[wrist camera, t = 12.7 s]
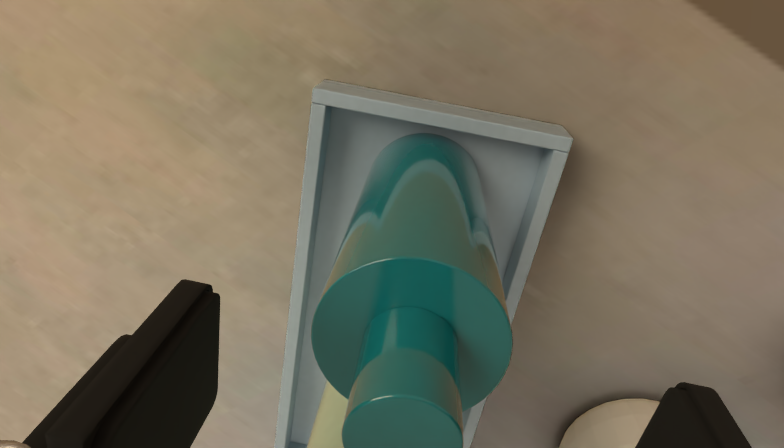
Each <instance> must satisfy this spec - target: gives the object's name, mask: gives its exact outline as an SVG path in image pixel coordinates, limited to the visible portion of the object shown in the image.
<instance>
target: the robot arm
mask: <svg viewBox="0 0 784 448" xmlns="http://www.w3.org/2000/svg"><path fill="white" fill-rule="evenodd" d="M219 321H220V296H219V294H218V293H213V289H212V286H211V285H209V284H205V283H200V282H195V281H190V280H185V279H184V280H181V281H180V282H179V283H178V284H177V285H176V286H175V287H174V288H173V290H172V291H171V292H170V293H169V294H168V295H167V296H166V297H165V299H164V300H163V301H162V302H161V303H160V304H159V305H158V307H157V308H156V309H155V310H154V311H153V312H152V313H151V314H150V316H149V317H148V318H147V319H146V320H145V321H144V322H143V323H142V325H141V326H140V327H139V328H138V329H137V330H136V331H135V333H134V334H133V335H127V334H126V335H123V336H121V337H120V338H118V339H117V340H116V341H115V342H114V343H113V344H112V345H111V346H110V347H109V349H108V350H107V351H106V352H105V353H104V354H103V355H102V356H101V357H100V358H99V359H98V361H97V362H96V363H95V364H94V365H93V366H92V367H91V368H90V369H89V370H88V371H87V373H86V374H85V375H84V376H83V377H82V378H81V379H80V380H79V381H78V382H77V383H76V385H75V386H74V387H73V388H72V389H71V390H70V391H69V392H68V393H67V394H66V395H65V397H64V398H63V399H62V400H61V401H60V402H59V403H58V404H57V405H56V406H55V407H54V409H53V410H52V411H51V412H50V413H49V414H48V415H47V416H46V417H45V418H44V419H43V421H42V422H41V423H40V424H39V425H38V426H37V427H36V428H35V429H34V430H33V431H32V433H31V434H30V435H29V436H28V437H27V438H26V439H25V440H24V441H23V442H22V443H20V442H17V441H8V440H0V448H190V447H191V445H192V443H193V441H194V439H195V438H196V436H197V434H198V432H199V430H200V428H201V427H202V425H203V423H204V421H205V419H206V418H207V416H208V414H209V412H210V410H211V409H212V407H213V404H214V402H215V399H216V395H217V389H218V356H219ZM635 448H752V447H751V446H750V444H749V443H748V441H747V439H746V438H745V436H744V435H743V433H742V432H741V430H740V428H739V427H738V425H737V424H736V422H735V420H734V419H733V417H732V416H731V414H730V413H729V411H728V409H727V408H726V406H725V405H724V403H723V401H722V400H721V398H720V397H719V395H718V394H717V392H716V391H715V390H714V389H712V388H709V387H704V386H699V385H694V384H689V383H685V382H682V383H679V384H677V385H676V387H675V388H669V389H668V390H667V391H666V392H665V394H664V396H663V398H662V400H661V402H660V403H659V405H658V407H657V409H656V411H655V412H654V414H653V416H652V418H651V420H650V421H649V423H648V425H647V427H646V429H645V430H644V432H643V434H642V436H641V438H640V440H639V441H638V443H637V445H636V447H635Z"/></svg>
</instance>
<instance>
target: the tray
mask: <svg viewBox="0 0 784 448" xmlns="http://www.w3.org/2000/svg"><path fill="white" fill-rule="evenodd" d="M416 133H432V134H437V135H441V136H444V137H447V138H449V139H451V140H453V141H455V142H456V143H458V144H459V145H461V146H462V147H463V148H464V149H465V150H466V151H467V152H468V153H469V154H470V156H471V157H472V158H473V160H474V162H475V163H476V165H477V168H478V170H479V174H480V178H481V183H482V188H483V193H484V198H485V202H486V207H487V212H488V217H489V222H490V227H491V232H492V237H493V242H494V246H495V251H496V256H497V261H498V266H499V271H500V276H501V281H502V285H503V290H504V295H505V300H506V305H507V310H508V315H509V320H510V325H511V324H512V321H513V318H514V315H515V312H516V309H517V306H518V303H519V300H520V297H521V294H522V291H523V288H524V285H525V282H526V279H527V276H528V273H529V271H530V268H531V265H532V262H533V259H534V256H535V253H536V250H537V247H538V244H539V241H540V238H541V235H542V232H543V229H544V226H545V223H546V220H547V217H548V214H549V211H550V208H551V205H552V202H553V199H554V196H555V193H556V190H557V187H558V184H559V181H560V178H561V175H562V172H563V169H564V166H565V163H566V160H567V157H568V152H569V151H570V148H571V145H572V142H573V138H572V137H571V135H570V134H569V133H568V132H567V131H566V130H565V128H564V127H563V126H562V125H557V124H552V123H547V122H542V121H537V120H532V119H527V118H522V117H516V116H511V115H506V114H501V113H496V112H491V111H486V110H481V109H475V108H470V107H465V106H460V105H455V104H450V103H445V102H440V101H434V100H429V99H424V98H419V97H414V96H409V95H404V94H399V93H393V92H388V91H383V90H378V89H373V88H368V87H363V86H358V85H352V84H347V83H342V82H337V81H332V80H327V79H324V80H323V81H322V82H320V83H319V84H318V85H316V86H315V87H314V88H313V92H312V104H311V110H310V120H309V129H308V138H307V148H306V157H305V166H304V176H303V185H302V194H301V203H300V213H299V222H298V231H297V241H296V250H295V259H294V269H293V278H292V287H291V297H290V306H289V315H288V325H287V334H286V343H285V353H284V362H283V371H282V380H281V390H280V399H279V408H278V418H277V427H276V436H275V446H274V448H306V447H307V444H308V440H309V437H310V433H311V430H312V427H313V423H314V420H315V416H316V413H317V409H318V406H319V402H320V399H321V396H322V392H323V389H324V385H325V382H326V378H325V376H324V375H323V373H322V371H321V370H320V368H319V366H318V364H317V361H316V359H315V356H314V352H313V348H312V342H311V325H312V320H313V316H314V313H315V310H316V308H317V305H318V302H319V300H320V297H321V295H322V292H323V289H324V287H325V284H326V282H327V279H328V277H329V274H330V271H331V269H332V266H333V264H334V261H335V258H336V256H337V253H338V251H339V248H340V245H341V243H342V240H343V238H344V235H345V233H346V230H347V227H348V225H349V222H350V220H351V217H352V214H353V212H354V209H355V207H356V204H357V201H358V199H359V196H360V194H361V191H362V189H363V186H364V183H365V181H366V178H367V176H368V173H369V170H370V168H371V165H372V163H373V161H374V160H375V158H376V157H377V155H378V154H379V153H380V152H381V151H382V150H383V149H384V148H385V147H386V146H387V145H388V144H390V143H391V142H393V141H395V140H396V139H398V138H401V137H403V136H406V135H410V134H416ZM486 399H487V397H486V398H485V399H484V400H482V401H481V402H479V403H478V404H476V405H475V406H473V407H472V408H470V409H468V410H466V411H464V412H462V417H463V437H464V445H463V448H470V446H471V443H472V440H473V437H474V434H475V431H476V428H477V425H478V422H479V419H480V416H481V413H482V410H483V407H484V404H485V402H486Z"/></svg>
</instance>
